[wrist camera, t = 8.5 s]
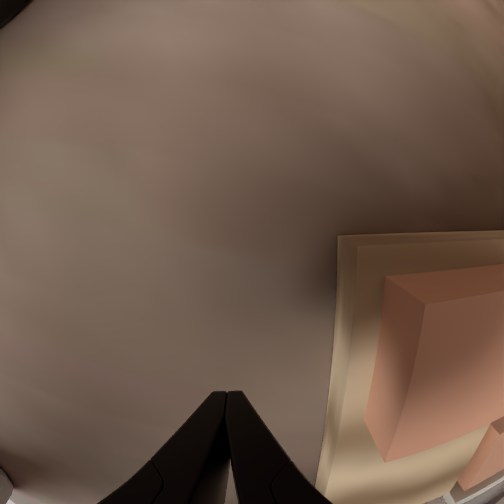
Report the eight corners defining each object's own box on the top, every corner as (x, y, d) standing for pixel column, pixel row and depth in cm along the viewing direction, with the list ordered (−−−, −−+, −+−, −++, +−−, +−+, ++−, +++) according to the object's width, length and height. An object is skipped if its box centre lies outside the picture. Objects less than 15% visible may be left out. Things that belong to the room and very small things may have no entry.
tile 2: (475, 387, 10) (503, 416, 8) (363, 419, 10) (384, 463, 8) (505, 263, 9) (547, 280, 7) (384, 276, 9) (425, 304, 7)
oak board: (439, 475, 15) (449, 492, 13) (310, 510, 15) (314, 532, 13) (515, 229, 11) (542, 237, 9) (337, 235, 11) (357, 246, 9)
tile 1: (503, 442, 14) (518, 459, 12) (450, 469, 14) (463, 491, 12) (531, 384, 13) (551, 401, 11) (479, 412, 13) (499, 434, 10)
